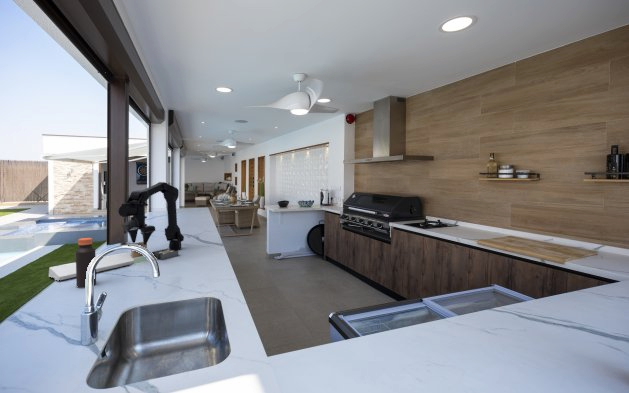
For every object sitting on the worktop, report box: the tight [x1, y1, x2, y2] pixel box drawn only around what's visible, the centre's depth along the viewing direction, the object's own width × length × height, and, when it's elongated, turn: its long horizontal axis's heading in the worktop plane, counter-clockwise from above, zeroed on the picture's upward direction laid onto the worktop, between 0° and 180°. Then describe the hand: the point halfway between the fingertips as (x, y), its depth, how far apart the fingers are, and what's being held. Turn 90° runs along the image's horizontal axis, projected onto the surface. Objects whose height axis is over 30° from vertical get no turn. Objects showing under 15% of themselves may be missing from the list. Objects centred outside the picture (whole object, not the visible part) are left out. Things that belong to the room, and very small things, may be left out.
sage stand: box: [132, 256, 149, 265], centre depth 171 cm, size 11×8×4 cm
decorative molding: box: [48, 252, 136, 282], centre depth 155 cm, size 34×5×10 cm
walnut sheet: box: [130, 241, 148, 258], centre depth 171 cm, size 8×2×10 cm, turn 154°
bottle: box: [75, 237, 97, 288], centre depth 134 cm, size 7×7×20 cm
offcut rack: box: [151, 248, 181, 261], centre depth 182 cm, size 12×12×4 cm
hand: (139, 243), depth 171 cm, fingers open, 9 cm apart
